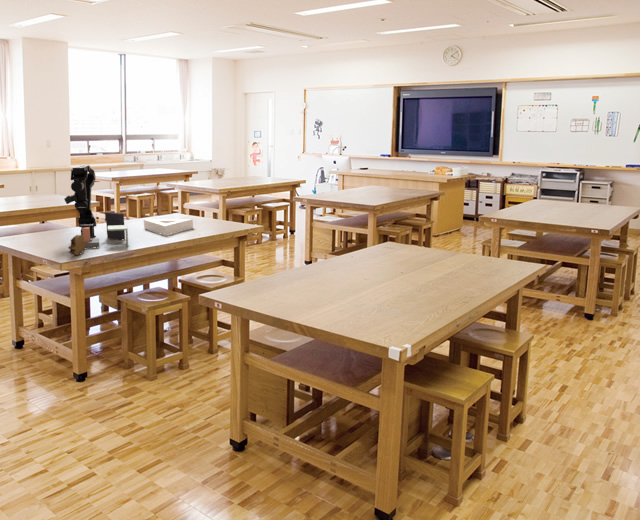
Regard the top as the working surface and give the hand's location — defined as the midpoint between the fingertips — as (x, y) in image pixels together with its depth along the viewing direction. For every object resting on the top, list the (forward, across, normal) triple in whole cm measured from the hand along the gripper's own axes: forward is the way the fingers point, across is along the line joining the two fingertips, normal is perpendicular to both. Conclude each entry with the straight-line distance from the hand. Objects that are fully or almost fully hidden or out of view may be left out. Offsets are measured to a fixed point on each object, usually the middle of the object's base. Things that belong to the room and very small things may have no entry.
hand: (82, 218), depth 347 cm
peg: (+13, +15, +2) cm, 20 cm away
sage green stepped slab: (+13, +16, +18) cm, 27 cm away
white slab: (+14, -25, +52) cm, 59 cm away
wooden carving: (+13, +36, -2) cm, 39 cm away
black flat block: (+13, -3, +17) cm, 22 cm away
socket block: (+13, +16, +2) cm, 20 cm away
